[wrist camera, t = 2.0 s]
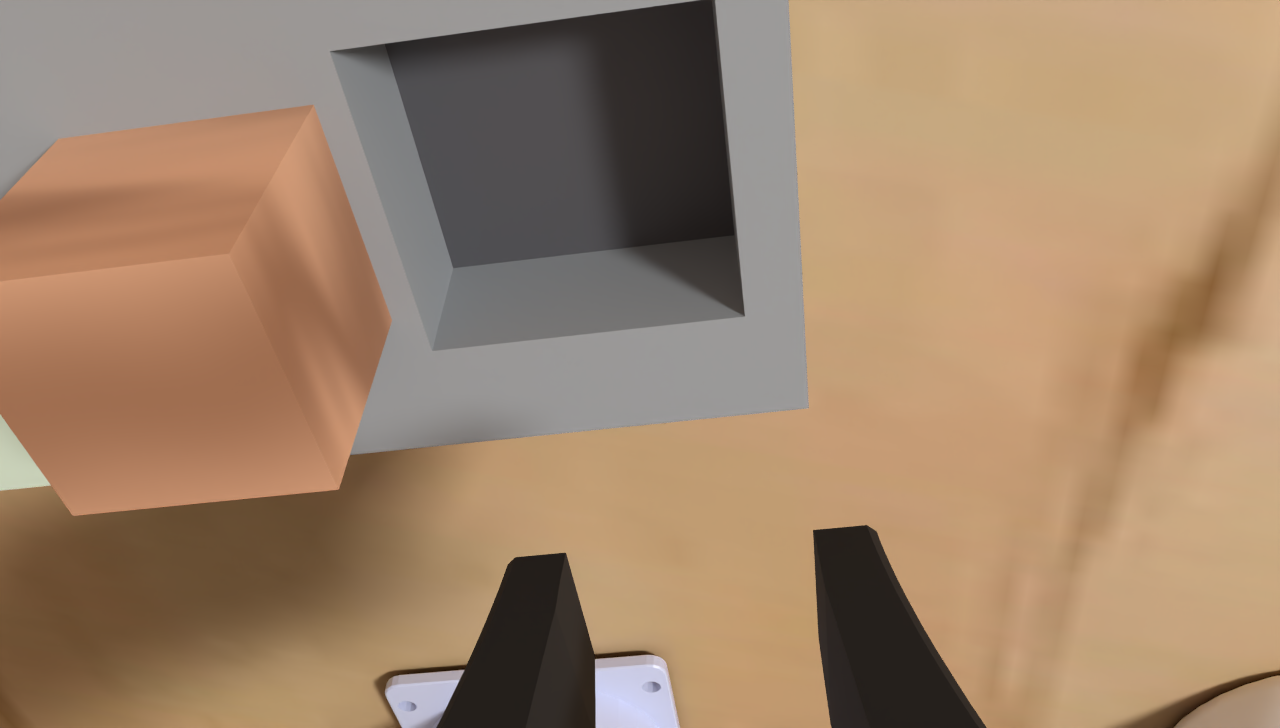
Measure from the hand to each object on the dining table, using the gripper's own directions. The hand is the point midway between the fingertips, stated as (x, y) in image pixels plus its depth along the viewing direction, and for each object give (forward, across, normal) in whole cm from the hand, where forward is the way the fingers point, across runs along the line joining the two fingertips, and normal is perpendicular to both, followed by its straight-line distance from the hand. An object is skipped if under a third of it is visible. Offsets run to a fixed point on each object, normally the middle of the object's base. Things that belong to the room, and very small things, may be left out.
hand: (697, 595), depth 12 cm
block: (+6, +7, -2) cm, 10 cm away
